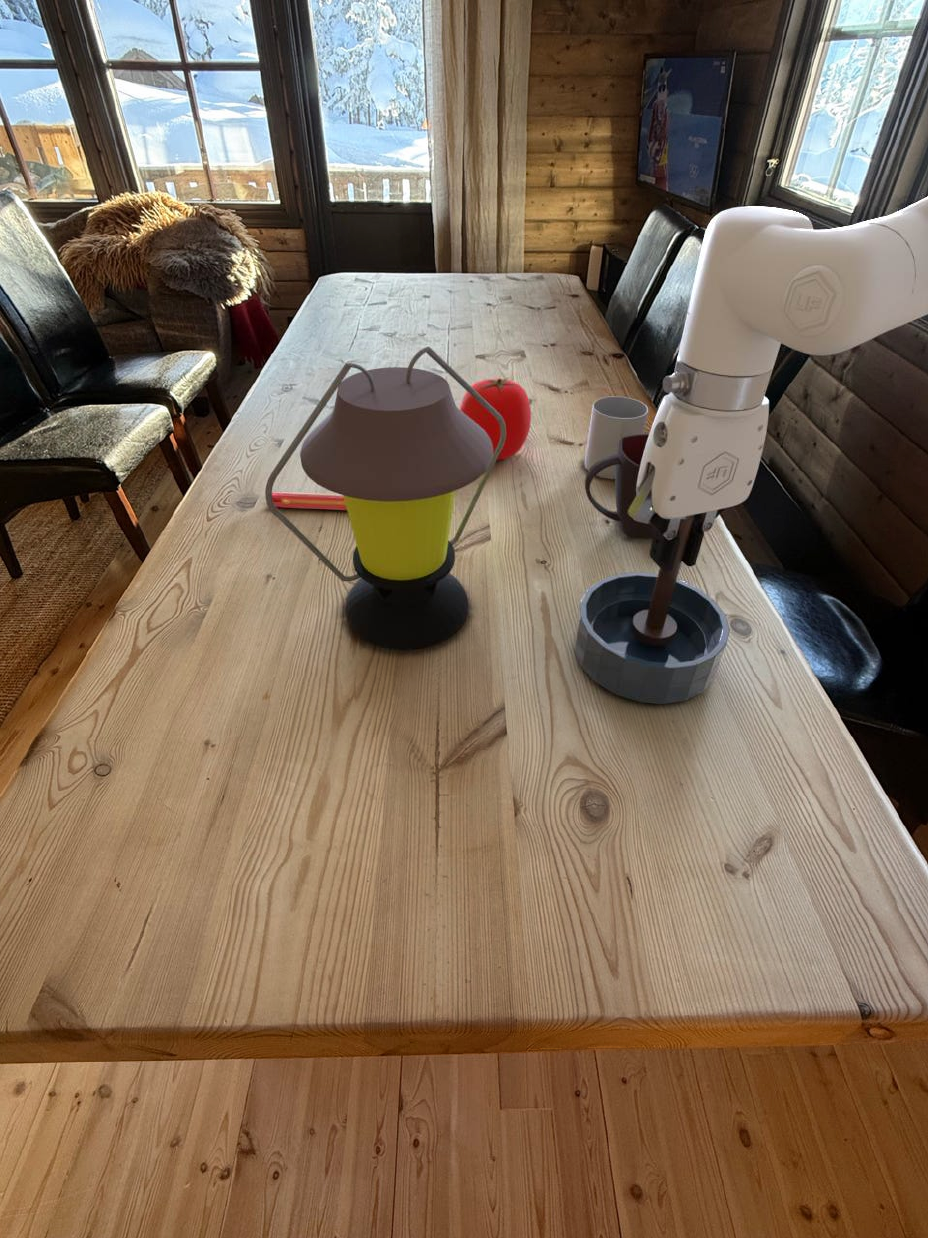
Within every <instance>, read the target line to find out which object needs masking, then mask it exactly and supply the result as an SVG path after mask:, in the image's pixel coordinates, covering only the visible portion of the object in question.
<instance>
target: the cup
mask: <svg viewBox="0 0 928 1238" xmlns="http://www.w3.org/2000/svg"><path fill="white" fill-rule="evenodd" d="M648 415H649V408H648V406H647V405H646V403H644V402H642V401H641V400H638V399H634V398H632V397H628V396H627V397H626V396H619V395H615V396H614V395H613V396H604V397H601V398H597V399H596V400H594V402H593V403H592V407H591V415H590V421H589V428H588V435H587V441H586V449H585V455H584V468H585V469H586V470H587V472H588V471H589V469H590V468H591V467H592V466H593V465H594V464H595V463H596V462H598V461H599V460H601V459H603V458H606V457H609V456H613V455H617V448H618V443H619V440H620V438H621V437H625V436H630V435H637V434H645V431H646V424H647V421H648ZM615 469H616V465H613V466H610V467H607V468H605V469H603V470H602V471H600V472H599V473H598V474H597V475H596V476H595V477H599V478H603V479H609V480H615Z"/></svg>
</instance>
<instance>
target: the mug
mask: <svg viewBox="0 0 928 1238" xmlns="http://www.w3.org/2000/svg"><path fill="white" fill-rule="evenodd" d="M648 437H649V433H644V434H637V435H630V436H625V437H621V438H620V440H619V443H618V448H617V455H613V456H609V457H606V458H603V459H601V460H599V461H598V462H596V463H595V464H594V465H593V466H592V467H591V468H590V469H589V471H588V470H587V473H586V474H585V475H586V476H585V479H584V488H585V493H586V496H587V498H588V501H589V502H590V503H591V505H592V506H593V507H594V508H595V509H596V510H597V511H598V512H599V513H601V514H602V515H603V516H605V517H606V518H608V519H610V520H613V521H616V522H617V523H618V526H619V529H620V530H621V532H622V533H623V534H624V535H625V536H626V537H627V538H628V539H635V540H653V535H654V531H655V528H654V527H653V526H652V525H651V524H646V523H642V522H637V521H635V520H634V519H633V518H632V517H631V516H630V515H629V514H628V509H629V508H630V506H631V504H632V503H633V501H634V499H635V497H636V496H637V493H636V488H637V480H638V474H639V469H640V465H641V461H642V457H643V453H644V450H645V446H646V443H647V440H648ZM613 465H616V469H615V479H614V481H615V485H614V486H615V507H616V510H615V511H614V510H610V509H607V508H605V506H603V505H601V504H600V503H599V502H597V500H595V498H594V496H593V495H592V492H591V484H592V482H593V480H594V479H595V477H597V476H596V475H597V474H598V473H599V472H600V471H602V470H603V469H605V468H607V467H610V466H613ZM652 507H653V505H652ZM666 520H667V519H666Z"/></svg>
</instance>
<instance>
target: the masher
mask: <svg viewBox="0 0 928 1238" xmlns="http://www.w3.org/2000/svg"><path fill="white" fill-rule="evenodd" d="M693 520H694V515H690V516H685V517H681V521H680V524H679V528H678V532H677V535H676V536H677V537H678V538H679V539H680V543H679V547H678V550H677V554H676V558H675V561H674V565H673V569H672V570H671V571H669V572H664V571H663V570H662V569H661V568H660V567H659V566H658V571H657V574H658V575H657V579H656V583H655V587H654V591H653V595H652V599H651V602H650V606H649V610H642V611H640V612H638V613H636V614H635V616H634V617H633V621H632V625H631V631H632V634H633V635H634V636H635V638H637V639H638V640H639V641H641V642H643V643H645V644H648V645H652V646H663V645H667V644H669V643H670V642H672V641H673V639H674V637H675V634H676V631H677V624H676V622H675V620H674V619H673V618H672V617H671V616H670V615H668V614H667V613H668V610H669V606H670V603H671V599H672V595H673V592H674V588H675V585H676V581H677V579H678V577H679V574H680V570H681V566H682V563H683V562H682V559H683V556H684V552H685V549H686V545H687V542H688V538H689V534H690V531H691V527H692V524H693Z"/></svg>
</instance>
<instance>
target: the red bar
mask: <svg viewBox="0 0 928 1238" xmlns="http://www.w3.org/2000/svg"><path fill="white" fill-rule="evenodd" d="M272 499H273V503H274V505H275V506H276V507H280V508H290V509H291V508H293V509H311V510H312V509H313V510H314V509H317V510H336V511H347V507H346V503H345V500H344V496H343V495H341V494H328V493H327V494H325V493H306V492H305V493H303V492H283V491H282V492H274V491H272Z"/></svg>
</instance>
